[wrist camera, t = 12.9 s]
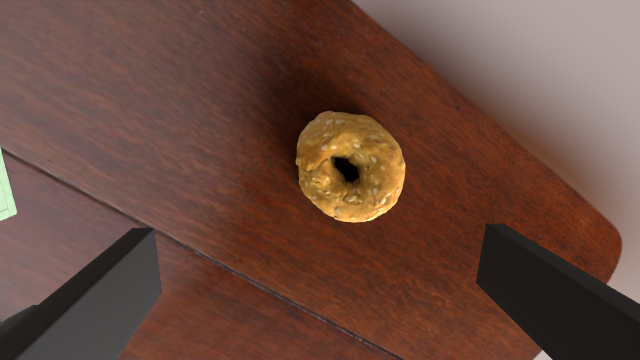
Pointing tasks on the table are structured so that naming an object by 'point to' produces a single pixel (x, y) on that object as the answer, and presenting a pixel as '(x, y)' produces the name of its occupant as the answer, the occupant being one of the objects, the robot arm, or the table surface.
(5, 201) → the box
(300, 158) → the bagel
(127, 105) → the table surface
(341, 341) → the table surface
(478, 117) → the table surface
